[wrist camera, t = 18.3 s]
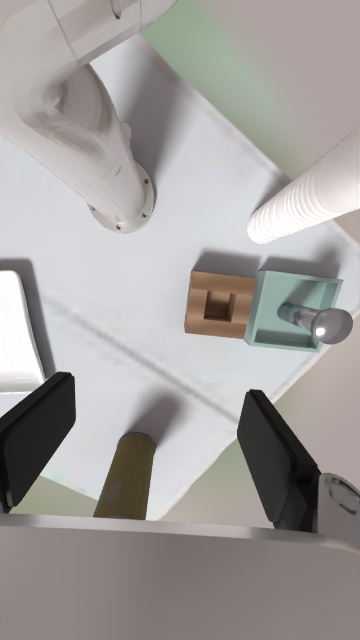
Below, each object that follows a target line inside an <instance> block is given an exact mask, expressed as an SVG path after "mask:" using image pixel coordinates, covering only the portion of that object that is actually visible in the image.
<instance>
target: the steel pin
mask: <svg viewBox="0 0 360 640" xmlns="http://www.w3.org/2000/svg"><path fill="white" fill-rule="evenodd" d="M277 315H278V317H279V318H280V319H281V320H284V321H286V322H288V323H291V324H293V325H295V326H298V327H300V328H303V329H305V330H307V331H310V332H311V334H312V336H313V337H314V338H315V339H316V340H318V341H320V342H323V343H325V344H336V343H339V342H341V341H343V340H344V339H345V338H346V337H347V336H348V335H349V334H350V332H351V330H352V326H353V320H352V317H351V315H350V314H349V313H348V312H347V311H345V310H341V309H336V308H327V309H324V310H318V309H314V308H309V307H305V306H301V305H297V304H293V303H283V304H282V305H280V307H279V308H278V310H277Z"/></svg>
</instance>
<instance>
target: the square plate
mask: <svg viewBox="0 0 360 640" xmlns="http://www.w3.org/2000/svg"><path fill="white" fill-rule="evenodd" d="M44 382H45V376H44V372H43V368H42V364H41V361H40V357H39V354H38V350H37V347H36V343H35V339H34V336H33V332H32V327H31V323H30V318H29V314H28V308H27V303H26V298H25V294H24V289H23V286H22V282H21V279H20V276H19V275H18V273H16V272H15V271H13V270H0V394H27V393H32V392H33V391H34V390H36V389H37V388H38V387H39V386H40V385H42V384H43V383H44Z"/></svg>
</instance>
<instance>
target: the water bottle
mask: <svg viewBox="0 0 360 640" xmlns="http://www.w3.org/2000/svg"><path fill="white" fill-rule="evenodd" d="M357 209H360V127H359V128H358V129H356V130H354V131H353V132H352V133H350V134H349V135H348V136H346V137H345V138H344V139H343V140H341V141H340V142H339V143H338V144H337V145H336V146H335V147H334V148H333V149H331V150H330V151H329V152H328V153H326V154H325V155H324V156H323V157H321V158H320V159H319V160H318V161H317V162H315V163H314V164H313V165H312V166H310V167H309V168H308V169H307V170H306V171H304V172H303V173H302V174H301V175H300V176H299V177H297V178H296V179H294V180H293V181H292V182H290V183H289V184H288V185H287V186H286V187H285V188H283V189H282V190H281V191H280V192H279V193H277V194H276V195H275V196H274V197H273V198H271V199H270V200H269V201H268V202H266V203H265V204H264V205H263V206H261V207H260V208H259V209H258V210H256V211H255V212H254V213H253V214H252V216H251V217H250V219H249V221H248V228H247V230H248V234H249V236H250V238H251V239H252V240H253V241H254V242H256V243H260V244H264V243H268V242H271V241H273V240H276V239H278V238H281V237H284V236H286V235H289V234H292V233H295V232H298V231H300V230H303V229H306V228H308V227H311V226H313V225H316V224H318V223H321V222H324V221H327V220H329V219H332V218H334V217H337V216H340V215H343V214H346V213H348V212H351V211H354V210H357Z"/></svg>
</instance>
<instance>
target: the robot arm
mask: <svg viewBox="0 0 360 640" xmlns="http://www.w3.org/2000/svg"><path fill="white" fill-rule="evenodd" d="M176 1H177V0H0V135H1V136H2V137H4V138H6V139H7V140H9V141H10V142H12V143H13V144H15V145H16V146H18V147H19V148H20V149H22V150H23V151H25V152H26V153H27V154H28V155H30V156H31V157H32V158H34V159H35V160H36V161H37V162H39V163H40V164H41V165H42V166H44V167H45V168H46V169H47V170H49V171H50V172H51V173H52V174H54V175H55V176H56V177H57V178H58V179H60V180H61V181H62V182H63V183H65V184H66V185H67V186H68V187H69V188H71V189H72V190H73V191H74V192H76V193H77V194H78V195H79V196H80V197H82V198H83V199H84V200H85V201H86V202H87V205H88V207H89V209H90V212H91V213H92V215H93V216H94V218H95V219H96V220H97V221H98V222H99V223H100V224H101V225H103V226H104V227H106V228H107V229H109V230H111V231H114V232H117V233H130V232H133V231H136V230H138V229H139V228H141V227H142V226H143V225H144V224H145V223H146V222H147V221H148V219H149V217H150V215H151V213H152V210H153V206H154V192H153V187H152V183H151V180H150V178H149V176H148V174H147V173H146V171H145V170H144V168H143V167H142V166H141V165H140V164H139V163H138V162H136V161H135V160H134V159H133V156H132V150H131V149H130V143H131V133H132V128H131V126H130V125H129V124H128V123H126V122H120V121H119V118H118V116H117V113H116V110H115V108H114V105H113V103H112V100H111V98H110V95H109V93H108V91H107V89H106V87H105V86H104V84H103V82H102V81H101V79H100V77H99V76H98V74H97V73H96V71H95V70H94V69H93V67H92V66H91V65H90V64H89V62H91V61H93V60H94V59H96V58H97V57H99V56H101V55H102V54H104V53H106V52H107V51H109V50H111V49H112V48H114V47H115V46H117V45H119V44H120V43H122V42H124V41H125V40H127V39H129V38H130V37H132V36H133V35H135V34H137V33H138V32H140V31H141V30H143V29H144V28H146V27H147V26H149V25H151V24H152V23H153V22H155V21H156V20H157V19H159V18H160V17H161V16H163V15H164V14H165V13H166V12H167V11H168V10H169V9H170V8H171V7H172V6H173V4H174V3H175V2H176ZM146 183H148V184H146ZM94 209H95V210H94ZM144 215H146V217H144ZM119 227H121V229H120V230H119ZM75 420H76V407H75V378H74V376H72V374H71V373H69V372H57V373H55V374H54V375H53V376H52V377H50V378H49V379H48V380H47V381H45V382H44V383H43V384H42V385H40V386H39V387H38V388H37V389H36V390H34V391H33V392H32V393H31V394H29V395H28V396H27V397H26V398H24V399H23V400H22V401H21V402H19V403H18V404H17V405H16V406H14V407H13V408H12V409H11V410H9V411H8V412H7V413H6V414H4V415H3V416H2V417H1V418H0V640H360V491H359V490H358V489H357V488H356V487H355V486H353V485H352V484H351V483H350V482H348V481H347V480H345V479H344V478H342V477H340V476H338V475H335V474H332V473H321V472H320V470H319V469H318V468H317V466H318V465H317V464H316V463H315V461H314V460H313V458H312V457H311V456H310V454H309V453H308V452H307V450H306V449H305V448H304V446H303V445H302V444H301V442H300V441H299V440H298V438H297V437H296V436H295V434H294V433H293V431H292V430H291V429H290V428H289V426H288V425H287V424H286V422H285V421H284V419H283V418H282V417H281V415H280V414H279V413H278V411H277V410H276V409H275V407H274V406H273V405H272V403H271V402H270V401H269V399H268V398H267V396H266V395H265V394H264V392H263V391H262V390H254V389H250V390H249V392H246V395H245V400H244V404H243V408H242V412H241V416H240V421H239V425H238V429H237V438H238V441H239V443H240V446H241V449H242V451H243V454H244V456H245V459H246V462H247V465H248V467H249V470H250V473H251V475H252V478H253V480H254V483H255V486H256V489H257V491H258V494H259V497H260V499H261V502H262V505H263V507H264V510H265V513H266V516H267V518H268V520H269V521H270V522H273V525H274V527H275V529H270V528H258V527H244V526H228V525H212V524H197V523H181V522H164V521H147V520H129V519H111V518H92V517H72V516H52V515H31V514H8V513H9V512H10V510H11V509H12V508H13V507H15V506H17V505H18V504H19V503H20V502H21V500H22V499H23V497H24V496H25V495H26V493H27V492H28V490H29V489H30V487H31V486H32V484H33V483H34V482H35V480H36V479H37V477H38V476H39V474H40V473H41V472H42V470H43V469H44V467H45V466H46V464H47V463H48V461H49V460H50V459H51V457H52V456H53V454H54V453H55V451H56V450H57V448H58V447H59V446H60V444H61V443H62V441H63V440H64V438H65V437H66V435H67V434H68V433H69V431H70V430H71V428H72V427H73V425H74V423H75Z"/></svg>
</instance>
